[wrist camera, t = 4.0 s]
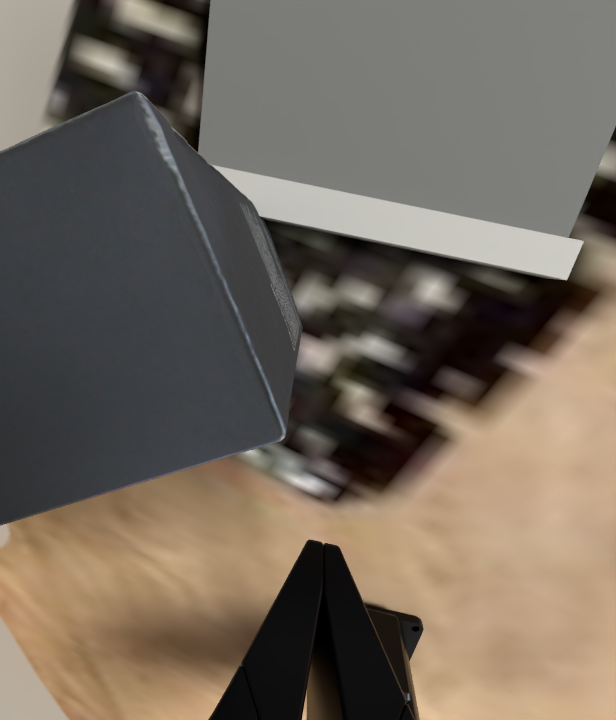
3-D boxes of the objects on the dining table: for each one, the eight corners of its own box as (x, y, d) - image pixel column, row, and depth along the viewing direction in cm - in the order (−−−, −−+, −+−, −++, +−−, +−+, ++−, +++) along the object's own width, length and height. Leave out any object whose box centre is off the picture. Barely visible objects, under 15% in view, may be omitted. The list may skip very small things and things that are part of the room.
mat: (544, 278, 14) (567, 279, 13) (198, 206, 15) (183, 200, 13) (677, -45, 11) (728, -89, 10) (227, -128, 11) (211, -183, 10)
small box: (123, 398, 17) (-147, 588, 7) (57, 280, 16) (-417, 314, 5) (308, 335, 16) (295, 458, 6) (260, 199, 14) (125, 50, 4)
